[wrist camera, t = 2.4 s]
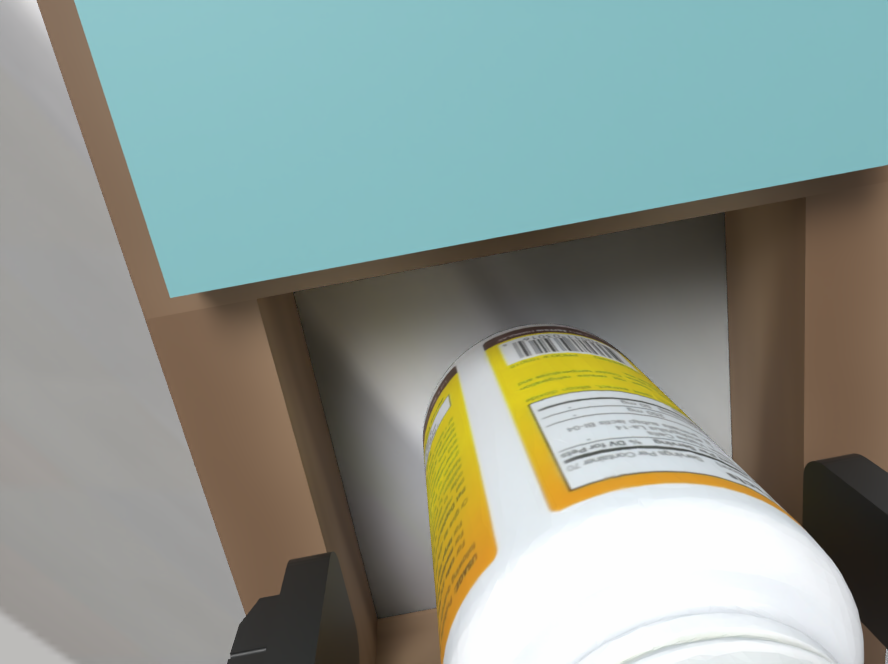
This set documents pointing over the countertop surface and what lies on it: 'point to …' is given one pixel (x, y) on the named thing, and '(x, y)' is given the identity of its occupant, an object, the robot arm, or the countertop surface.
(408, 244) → the sliding cover
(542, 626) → the supplement bottle
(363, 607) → the wooden frame
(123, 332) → the countertop surface
